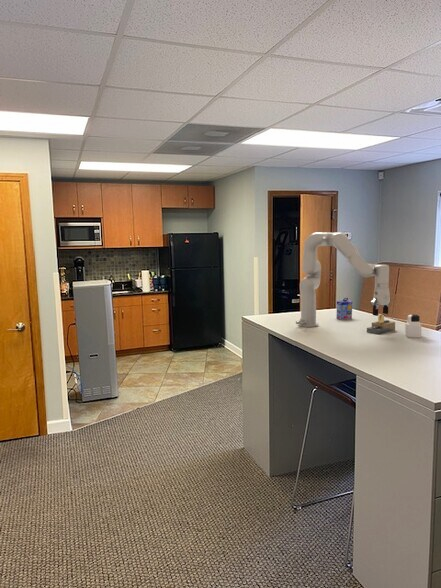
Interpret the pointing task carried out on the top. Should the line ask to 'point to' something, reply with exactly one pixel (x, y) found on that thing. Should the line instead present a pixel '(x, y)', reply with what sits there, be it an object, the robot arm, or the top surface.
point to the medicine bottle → (413, 326)
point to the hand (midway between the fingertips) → (380, 314)
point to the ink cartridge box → (344, 309)
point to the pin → (381, 318)
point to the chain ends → (381, 327)
